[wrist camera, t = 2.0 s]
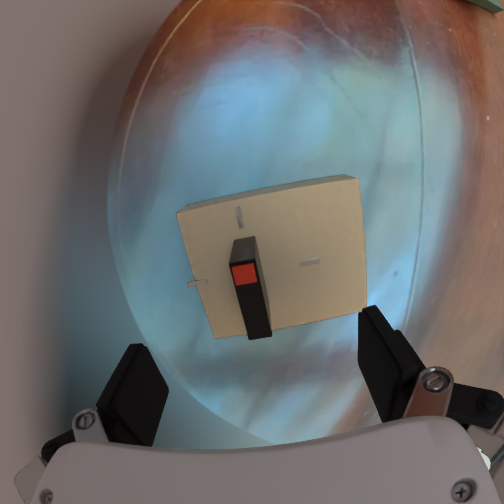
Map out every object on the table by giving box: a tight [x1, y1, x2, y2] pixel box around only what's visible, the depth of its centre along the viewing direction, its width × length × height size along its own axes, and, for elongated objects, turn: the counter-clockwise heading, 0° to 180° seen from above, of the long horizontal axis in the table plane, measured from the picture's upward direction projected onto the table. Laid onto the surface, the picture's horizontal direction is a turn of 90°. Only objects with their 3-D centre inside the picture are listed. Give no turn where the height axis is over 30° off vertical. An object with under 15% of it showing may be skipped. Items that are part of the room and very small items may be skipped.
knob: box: [229, 236, 272, 340], centre depth 16 cm, size 5×1×4 cm, turn 12°
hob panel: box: [176, 175, 367, 339], centre depth 20 cm, size 13×10×3 cm
